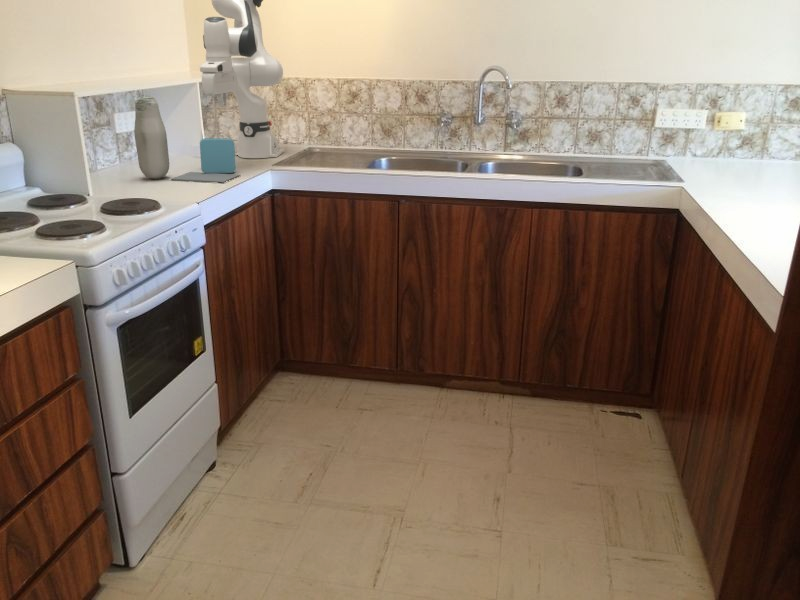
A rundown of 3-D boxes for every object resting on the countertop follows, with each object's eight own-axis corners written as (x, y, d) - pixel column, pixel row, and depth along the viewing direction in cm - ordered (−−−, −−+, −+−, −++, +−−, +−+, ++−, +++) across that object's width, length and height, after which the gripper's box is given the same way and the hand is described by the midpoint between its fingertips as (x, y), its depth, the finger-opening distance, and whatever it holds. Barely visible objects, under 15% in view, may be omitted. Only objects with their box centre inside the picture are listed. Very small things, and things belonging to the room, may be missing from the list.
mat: (190, 173, 246) (189, 172, 246) (240, 176, 242) (240, 174, 241) (170, 180, 234) (170, 178, 234) (223, 183, 230) (223, 181, 230)
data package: (235, 171, 250) (233, 138, 246) (235, 173, 246) (234, 139, 242) (201, 171, 247) (199, 138, 243) (201, 173, 243) (199, 139, 239)
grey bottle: (144, 175, 241) (133, 94, 231) (174, 175, 242) (164, 94, 232) (137, 181, 232) (125, 97, 222) (167, 181, 233) (157, 96, 223)
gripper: (224, 64, 250) (228, 103, 255) (197, 67, 231) (201, 108, 236) (240, 65, 249) (243, 103, 254) (213, 67, 230) (217, 109, 235)
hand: (222, 106), depth 245 cm, fingers closed
